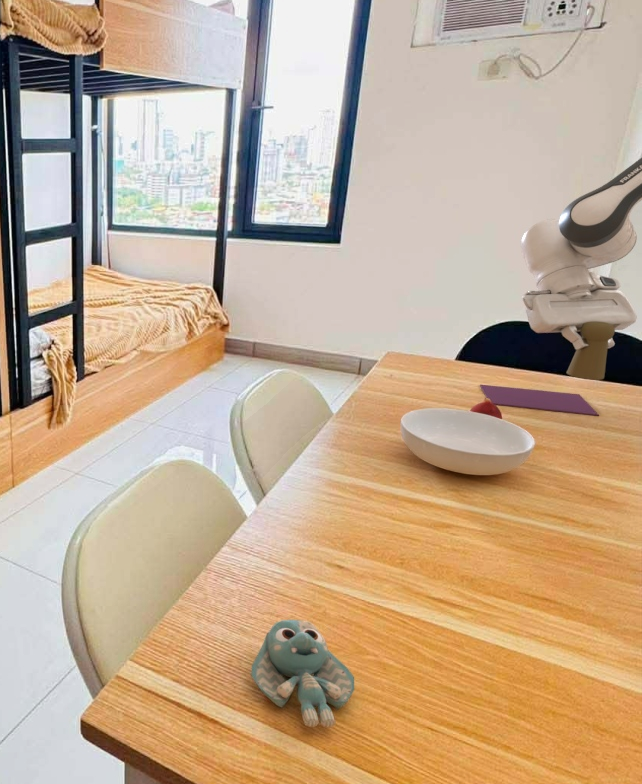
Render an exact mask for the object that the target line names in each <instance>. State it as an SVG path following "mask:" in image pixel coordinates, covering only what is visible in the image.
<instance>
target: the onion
mask: <svg viewBox="0 0 642 784" xmlns="http://www.w3.org/2000/svg"><path fill="white" fill-rule="evenodd" d="M469 411H471V412H476V413H481V414H486V415H489V416H493V417H496V418H499V419H502V420H503V415H502V412H501V410H500V409H499V407H498V405H494V404H493V403H492V402H491V401H490V399H488V398H487V397H485V398H484V400H483V401H482V402H479V403H476V405H474V406H473V407H471V408H470V409H469Z"/></svg>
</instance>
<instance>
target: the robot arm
mask: <svg viewBox="0 0 642 784" xmlns="http://www.w3.org/2000/svg"><path fill="white" fill-rule="evenodd" d="M640 202H642V157H640V158H639V159H638V160H637V161H635V162H634V163H633V164H631V165H629V166H628V167H626V169H624V170H623V171H622V172H620V173H619V174H618V175H616V176H615V177H613V178H611V180H610V181H608V182H606V183H604V184H603V185H601V186H599V187H598V188H596V189H594V190H592V191H589V192H588V193H585V194H583V195H581V196H579V197H578V198H576V199H574V200H573V201H572V202H570V203H568V205H567V206H566V207H565V208H564V210H563V211H562V213H561V215H560V217H559V219H557V218H548V219H547V218H546V219H544V220H542V221H539V222H537V223H536V224H534V225H532V226H531V227H530V228H529V229H527V230H526V231H525V232H524V234H523V235H522V237H521V240H520V250H521V253H522V257H523V259H524V262H525V265H526V267H527V269H528V271H529V272H530V274H531V275H532V276H533V277H534V279H535V286H536V289H537V290H529V291H527V292H526V293H524V294H523V296H522V302H523V304H524V306H525V313H526V318H527V321H528V324H529V327H530V329H531V330H532V331H533V332H535V333H537V334H545V333H546V334H548V333H561V335H562V337H564V338H565V339H566V340H567V341H569V342H570V343H572V345H573V347H574V350H575V351H576V350H579V349H584V348H586V347H588V346H589V343H588V342H587V339H586V338H582V336H581V334H580V333H578V332H580V331H581V327H582V326H583V325H584V324H585V323H586V322H591V321H599V322H606V323H609V324H611V325H613V326H614V328H615V331H623V330H625V329H627V328H628V327H631V326H632V325H634V324H635V323H636V321H637V319H638V316H637V313H636V311H635V308H634V307H633V305H632V303H631V302H630V299H629V298H628V296H627V295H626V294H625V293H624V292H623V291H621V290H620V289H619V288H621V283H620V281H619V280H618V279H617V278H613V277H610V276H609V277H608V276H605V275H601V274H598V273H596V272H594V271H589V269H594V268H597V267H601V266H604V265H608V264H612V263H615V262H618V261H619V260H622V259H623V258H625V257H626V256H627V255H628V254H630V253H631V251H632V250H633V249H634V247H635V246H636V243H637V233H636V230H635V227H634V225H633V223H632V221H631V220H630V215H631V213H632V211H633V209H634V208H635V206H636V205H637V204H639V203H640ZM615 344H616V343H615V341H614V339H613V337H612V338H611V339H610V340H608V348H607V349H611V348H613V347H614V346H615Z"/></svg>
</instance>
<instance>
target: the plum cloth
mask: <svg viewBox="0 0 642 784" xmlns="http://www.w3.org/2000/svg"><path fill="white" fill-rule="evenodd" d="M479 388H481V391H482V392H483V394H484V395H485V398H488V399H490V401H491V402H492V403H493V404H494V405H496V406H503V407H511V408H513V407H514V408H521V409H532V410H540V411H548V412H549V411H550V412H558V413H566V414H568V413H569V414H577V415H587V416H597V417H599V416H600V413H598V412H597V411H596V409H594V408H593V406H592V405H590V404H589V402H587V401H586V400H585V398H584V397H583V396H582V395H580V393H571V392H561V391H560V392H558V391H552V390H551V391H550V390H541V389H540V390H539V389H530V388H520V387H511V386H510V387H509V386H500V385H492V384H491V385H490V384H482V383H481V384H479Z"/></svg>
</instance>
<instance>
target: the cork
mask: <svg viewBox="0 0 642 784" xmlns="http://www.w3.org/2000/svg"><path fill="white" fill-rule="evenodd" d="M615 331H616V330H615V328H614V326H613V325H611V324H609V323H606V322H599V321H591V322H586V323H585V324H584V325H583V326H582V327H581V331H579V332H580V336H581V337H582V338H586V339H587V342H588V343H589V346H588V347H586V348H584V349H579V350H576V349H575V352H574V355H573V357H572V359H571V360H570V361H571V362H570V363H569V366H568V368H567V370H566V374H567V375H569V376H571V377H574V378H577V379H582V380H589V381H591V380H592V381H600V380H604V379H605V373H606V366H607V365H606V364H607V357H608V356H607V355H608V349H609V348H608V340H610V339H611V338H612V339H613V337H614V335H615Z"/></svg>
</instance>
